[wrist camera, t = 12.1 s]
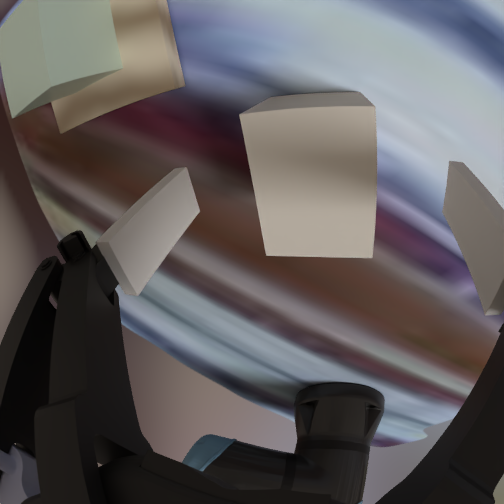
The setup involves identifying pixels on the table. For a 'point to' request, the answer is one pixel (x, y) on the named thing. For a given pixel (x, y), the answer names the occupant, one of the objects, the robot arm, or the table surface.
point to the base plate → (129, 64)
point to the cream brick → (314, 173)
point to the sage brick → (56, 50)
